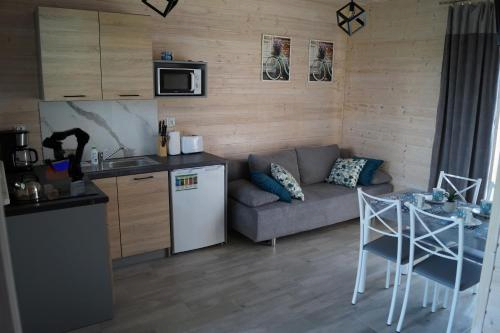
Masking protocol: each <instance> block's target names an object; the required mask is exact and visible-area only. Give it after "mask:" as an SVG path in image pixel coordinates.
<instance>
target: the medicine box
mask: <svg viewBox="0 0 500 333" xmlns="http://www.w3.org/2000/svg"><path fill="white" fill-rule="evenodd" d="M69 185H70V187H69V188H70V195H71V196H73V197H78V196H81V195H84V194H85V193H86V190H85V181H84V180H82V181H76V182H72V183H71V182H70V183H69Z"/></svg>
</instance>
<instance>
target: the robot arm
mask: <svg viewBox="0 0 500 333" xmlns="http://www.w3.org/2000/svg"><path fill="white" fill-rule="evenodd" d="M71 136H74V137H75V138H76V143H77V145H76V148H75V149H76V153H75V155H74V154H70V155H68V157H65V148H63V145H64V142H62V141H65V140H66V139H67V138H68V137H71ZM90 138H91V136H90V134H89V133H88V132H87V131H85V130H83V129H82V128H81V127H73V128H70V129H66V130H62V131H59V130H58V131H53V132H52V134H51V135H50V136H47V137H45V139H43V140H42V142H41V143H42V144H41V145H42V147H43V148H46V149H48V150H52V151H53V158H54V159H51V158H45V159H43V163H44V165H45V166H46V167H48V168H49V167H51V168H52V170H53V171H54V173H55V170H54V167H53V164H55V163H60V162H63V161H66V160H69V167H68V174H69V178H71V180H70V183H72V182H76V181H83V178H84V177H85V173H84V172H83V171H82V164H81V163H82V158H83V155H84V151H85V146H87V144H88V143H89V141H90ZM72 162H73V163H72ZM55 174H56V173H55Z"/></svg>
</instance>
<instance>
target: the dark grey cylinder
mask: <svg viewBox="0 0 500 333" xmlns="http://www.w3.org/2000/svg"><path fill="white" fill-rule="evenodd" d="M49 190H55V187H54V186H48V187H45V188H44V192H45V191H46V194H45V197H47V198H48V191H49Z"/></svg>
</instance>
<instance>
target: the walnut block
mask: <svg viewBox="0 0 500 333" xmlns="http://www.w3.org/2000/svg"><path fill="white" fill-rule="evenodd" d="M59 197H60V195H59V190H57V189H56V188H54V190H49V191H48V197H47V198H48V199H49V200H50V201H52V200H57V199H59Z"/></svg>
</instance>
